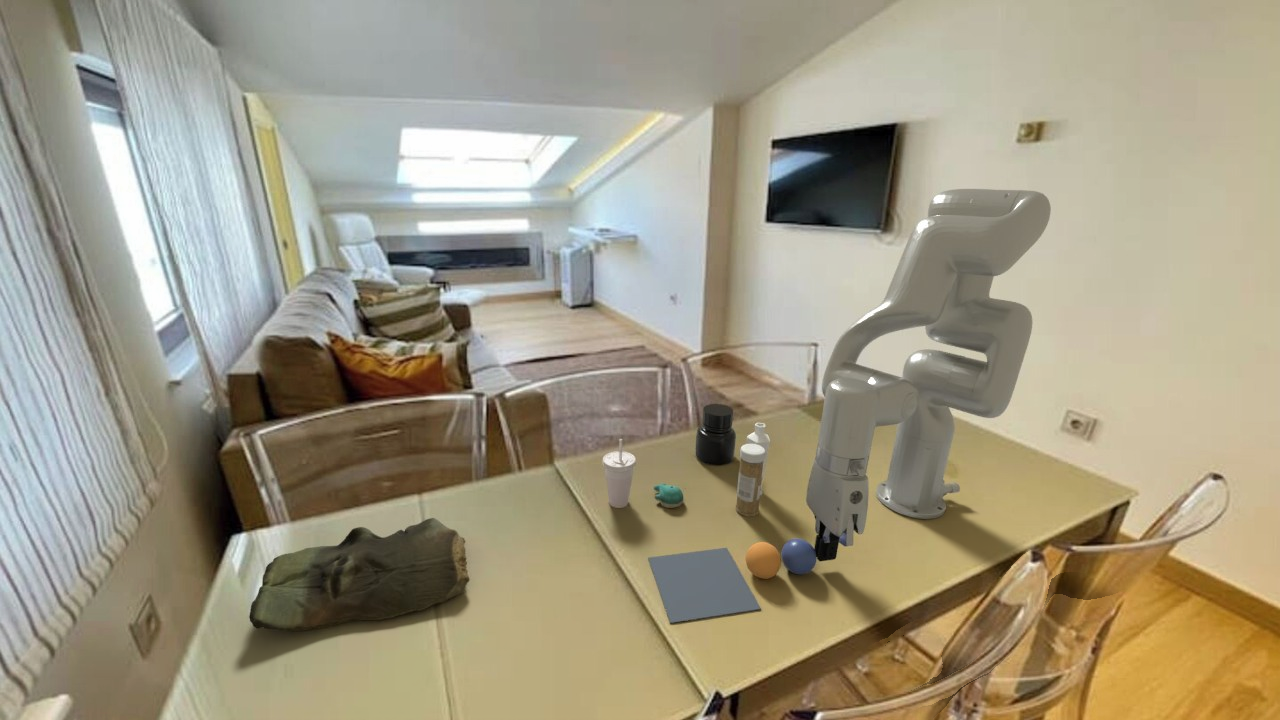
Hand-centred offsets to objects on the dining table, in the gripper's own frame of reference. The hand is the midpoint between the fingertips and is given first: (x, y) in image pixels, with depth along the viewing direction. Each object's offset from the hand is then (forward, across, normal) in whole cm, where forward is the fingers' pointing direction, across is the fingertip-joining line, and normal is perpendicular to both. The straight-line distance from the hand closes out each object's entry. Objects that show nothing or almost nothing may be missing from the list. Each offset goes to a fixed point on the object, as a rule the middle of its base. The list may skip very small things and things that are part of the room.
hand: (824, 557), depth 87 cm
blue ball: (-1, 0, +5) cm, 5 cm away
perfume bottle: (+2, +23, +2) cm, 23 cm away
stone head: (+3, +11, +71) cm, 72 cm away
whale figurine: (+3, +24, +20) cm, 31 cm away
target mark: (+2, 0, +21) cm, 21 cm away
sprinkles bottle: (+2, +17, +6) cm, 18 cm away
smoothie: (+2, +25, +30) cm, 39 cm away
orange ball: (-1, 0, +11) cm, 11 cm away
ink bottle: (+2, +38, +5) cm, 39 cm away
